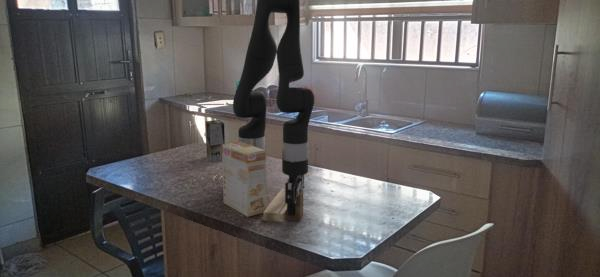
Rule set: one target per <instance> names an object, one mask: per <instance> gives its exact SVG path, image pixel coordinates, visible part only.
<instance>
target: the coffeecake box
mask: <svg viewBox="0 0 600 277" xmlns="http://www.w3.org/2000/svg"><path fill="white" fill-rule="evenodd" d="M266 152H267V150H266V149H265V150H263V149H260V148H257V147H254V146H251V145H248V144H245V143H242V142H239V141H234V142H230V143H225V144H222V161H221V163H222V185H223V186H222V190H223V191H222V194H223V204H225V205H227V206H228V207H230V208H231V209H233V210H235V211H237V212H238V213H241V214H242V215H244V216H246V218H248V217H252V216H256V215H262V214H263V212H264V211H265V210H266V208H267V166H266V164H267V163H266V162H267V156H266V155H267V154H266Z"/></svg>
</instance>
